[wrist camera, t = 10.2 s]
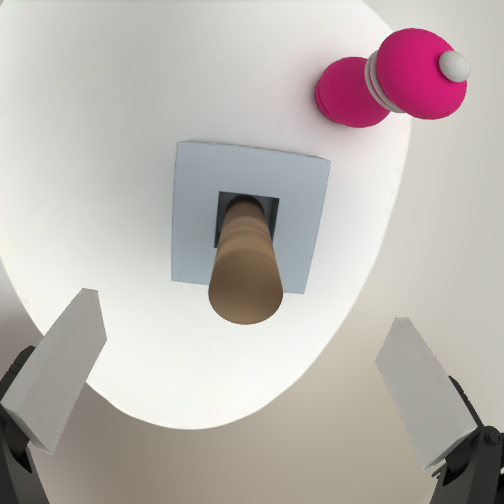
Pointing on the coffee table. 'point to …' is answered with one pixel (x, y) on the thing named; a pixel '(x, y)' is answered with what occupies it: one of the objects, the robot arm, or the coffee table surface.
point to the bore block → (245, 184)
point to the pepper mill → (395, 81)
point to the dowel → (245, 266)
